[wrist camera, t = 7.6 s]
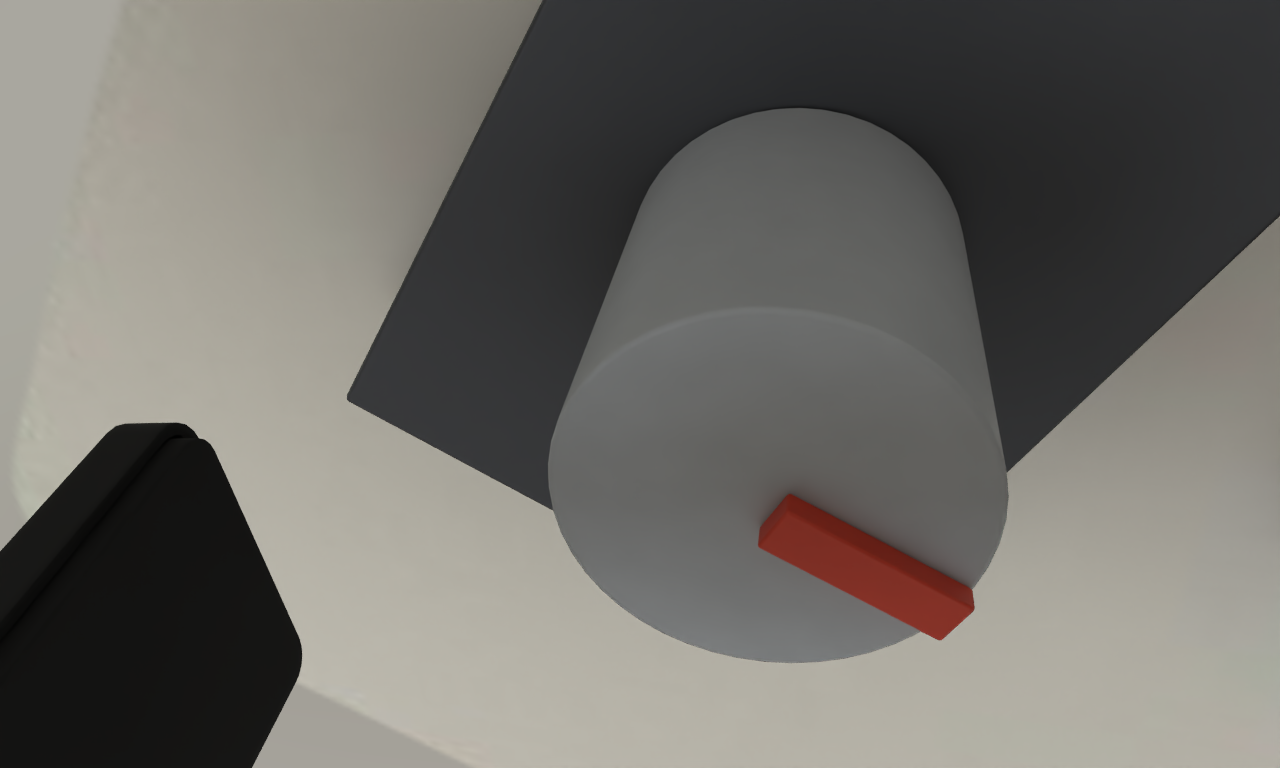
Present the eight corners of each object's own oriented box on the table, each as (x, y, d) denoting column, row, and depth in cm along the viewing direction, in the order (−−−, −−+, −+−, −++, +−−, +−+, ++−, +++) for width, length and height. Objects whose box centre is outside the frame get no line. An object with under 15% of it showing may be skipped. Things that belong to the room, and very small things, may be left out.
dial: (578, 308, 15) (471, 565, 11) (735, 39, 13) (675, 234, 9) (841, 448, 16) (835, 744, 12) (1037, 218, 14) (1121, 484, 9)
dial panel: (772, -412, 13) (752, -426, 10) (1342, -4, 14) (1441, 67, 12) (407, 306, 20) (343, 401, 17) (821, 536, 21) (817, 653, 19)
